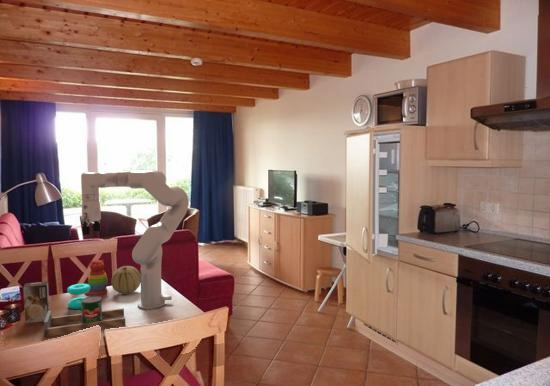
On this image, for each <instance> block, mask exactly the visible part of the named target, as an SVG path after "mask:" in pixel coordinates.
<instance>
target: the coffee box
mask: <svg viewBox="0 0 550 386" xmlns="http://www.w3.org/2000/svg"><path fill="white" fill-rule="evenodd" d="M22 289H23V306H24V323H26V324H32V323H38V322H39V323H41V322H44V321H45V318H46V315H47V313H48V311H51V310H50V294H49V281H47V280H46V281H36V282H28V283H24V285H23V288H22Z"/></svg>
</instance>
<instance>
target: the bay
mask: <svg viewBox="0 0 550 386" xmlns="http://www.w3.org/2000/svg"><path fill="white" fill-rule="evenodd" d="M124 316H125V308H117V309H109V310H102V321H96V322H89V323H82V313H76V314H75V313H74V314H68V315H62V316H61V315H60V316H54V317H53V316H52V310H50V311H48V313H47V315H46V318H45V321H43V327H44V329H43V330H44V331H43V332H44V337H45V338H49V337H55V336H62V335H67V334H73V333H72V332H76V331H79V330H83V329H86V328H90V327H93V326H96V325H99V326H100V327H101V328H102V329H103V330H104V329H110V328H111V329H112V328H117V327H123V326H126V317H124ZM116 317H120V318H116ZM110 318H111V319H110ZM112 318H113V319H112ZM103 319H104V320H103ZM80 322H81V323H80ZM71 323H72V324H71ZM73 323H74V324H73ZM75 323H76V324H75ZM64 324H67V325H64ZM58 325H61V326H58ZM52 326H53V327H52ZM102 329H101V330H102ZM76 333H77V332H76Z"/></svg>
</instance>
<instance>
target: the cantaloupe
mask: <svg viewBox="0 0 550 386" xmlns="http://www.w3.org/2000/svg"><path fill="white" fill-rule="evenodd" d="M110 281H111V282H110V283H111V286H112V288H113V290H114V291H115V292H116V293H118V294H121V295H128V294H133V293H134V292H135V291H137V290H138V289H139V287H140V286H141V272H140V270H139V269H137V268H136V267H135V266H131V265H123V266H120V267H118V268H117V269H116V270H115V271H114V272H113V274H112V277H111V280H110Z"/></svg>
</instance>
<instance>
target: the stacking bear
mask: <svg viewBox="0 0 550 386" xmlns="http://www.w3.org/2000/svg"><path fill="white" fill-rule="evenodd" d="M89 268H90V273H89V275H88V279H87V284H88V285H90V290H89V291H88V292H87V293H85V294H84V295H86V296H87V297H92V296H99V297H102V296H104V295H107V293H108V291H109V290H108V289H107V286H108V277H107V273H106V272H105V270H104V269H105V263H104V259H100V260H99V259H98V260H97V259H95V260H93V261H92V262H91V263H90V264H89Z"/></svg>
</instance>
